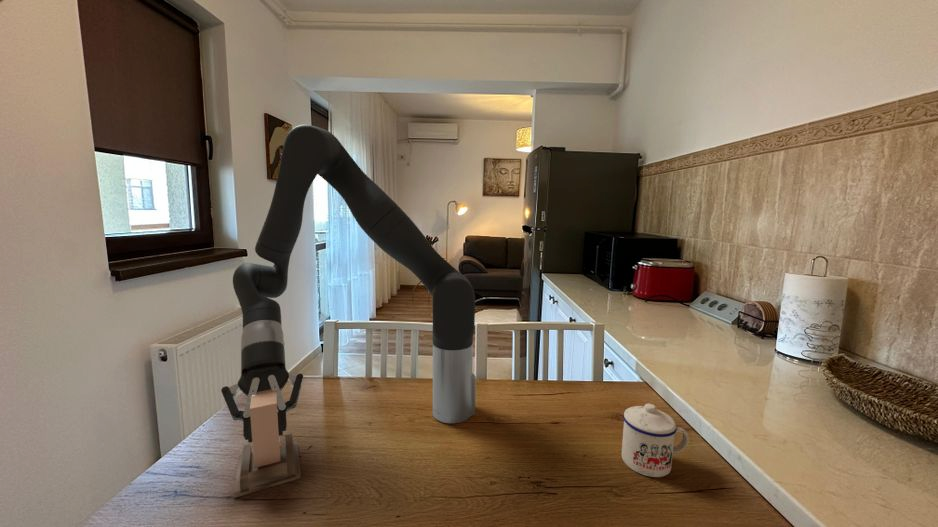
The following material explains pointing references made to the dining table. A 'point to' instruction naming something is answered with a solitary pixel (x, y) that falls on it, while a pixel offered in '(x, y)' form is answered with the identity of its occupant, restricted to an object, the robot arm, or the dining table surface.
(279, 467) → the tray
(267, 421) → the clay block
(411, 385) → the dining table surface
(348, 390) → the dining table surface
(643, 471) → the teacup with lid
